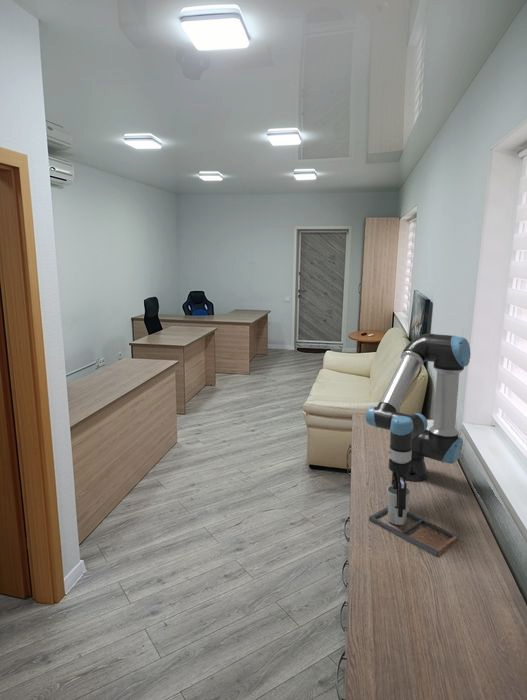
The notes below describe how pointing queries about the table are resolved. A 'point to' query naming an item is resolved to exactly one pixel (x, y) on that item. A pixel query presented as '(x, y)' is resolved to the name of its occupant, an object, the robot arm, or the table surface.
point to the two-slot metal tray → (420, 533)
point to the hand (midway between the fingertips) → (397, 517)
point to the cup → (395, 504)
